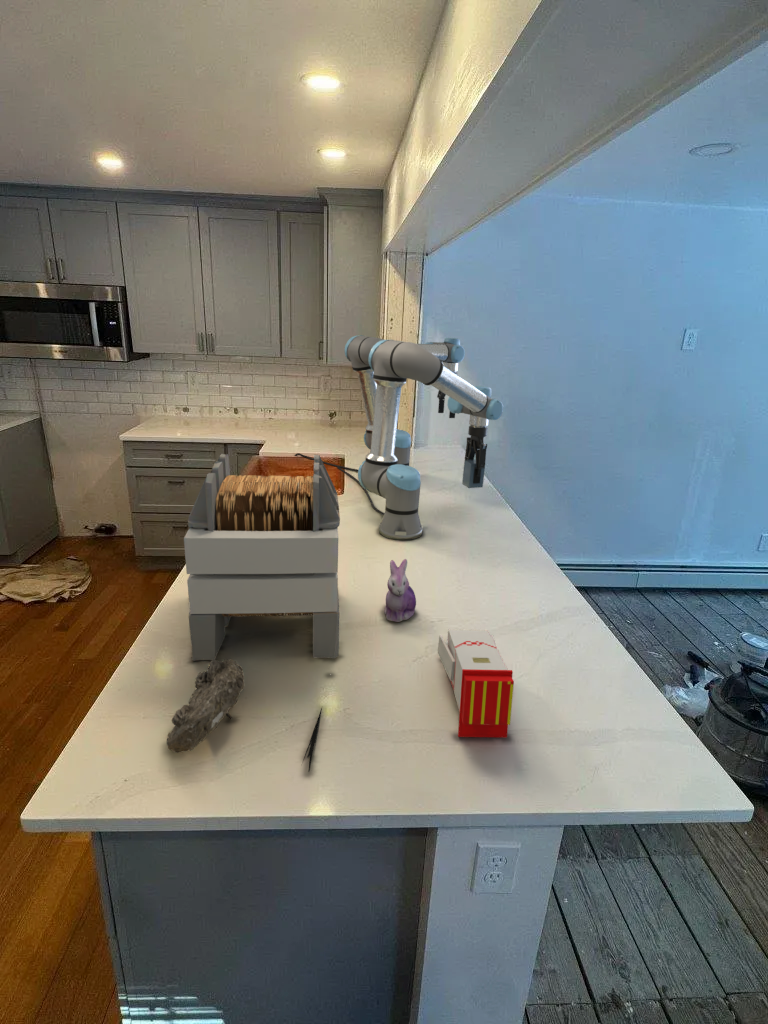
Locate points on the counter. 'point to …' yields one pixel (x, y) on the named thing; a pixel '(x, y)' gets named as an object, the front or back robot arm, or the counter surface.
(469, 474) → the brick
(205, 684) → the fossil
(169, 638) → the counter surface
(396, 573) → the figurine
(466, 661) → the toy
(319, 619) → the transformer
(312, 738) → the feather
